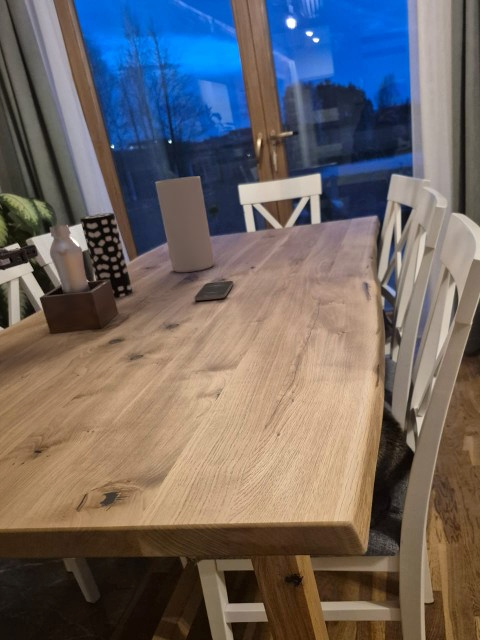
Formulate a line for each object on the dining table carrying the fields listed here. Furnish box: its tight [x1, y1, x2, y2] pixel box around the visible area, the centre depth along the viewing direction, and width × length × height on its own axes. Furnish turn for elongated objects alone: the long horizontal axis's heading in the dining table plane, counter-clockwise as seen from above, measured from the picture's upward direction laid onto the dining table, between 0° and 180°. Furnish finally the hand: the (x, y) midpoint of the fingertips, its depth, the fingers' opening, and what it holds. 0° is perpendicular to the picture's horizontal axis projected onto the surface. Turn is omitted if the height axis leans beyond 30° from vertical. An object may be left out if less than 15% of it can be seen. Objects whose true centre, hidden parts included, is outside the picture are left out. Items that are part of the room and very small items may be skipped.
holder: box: [39, 279, 119, 335], centre depth 128 cm, size 12×12×8 cm
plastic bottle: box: [49, 224, 90, 294], centre depth 125 cm, size 6×7×20 cm
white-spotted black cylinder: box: [79, 212, 133, 299], centre depth 149 cm, size 8×8×20 cm
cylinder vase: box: [154, 175, 215, 273], centre depth 168 cm, size 12×12×25 cm
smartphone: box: [194, 280, 234, 301], centre depth 142 cm, size 8×1×15 cm
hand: (19, 250), depth 113 cm, fingers open, 8 cm apart
